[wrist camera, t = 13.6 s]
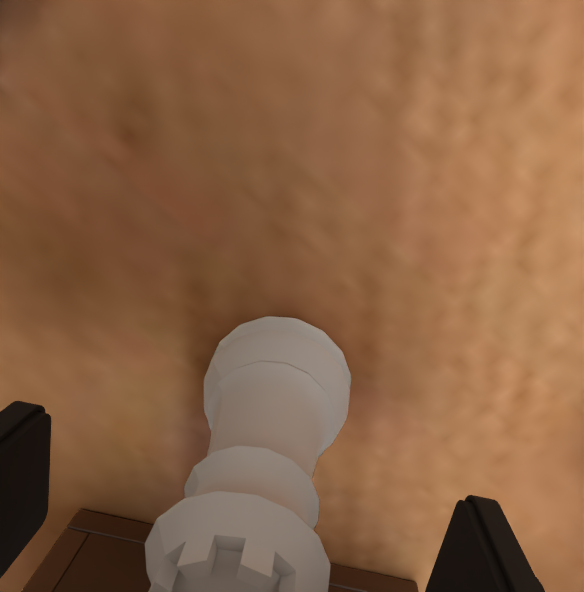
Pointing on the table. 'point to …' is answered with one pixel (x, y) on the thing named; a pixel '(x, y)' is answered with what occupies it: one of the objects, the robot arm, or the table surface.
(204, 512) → the rook chess piece
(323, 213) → the table surface
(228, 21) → the table surface
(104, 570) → the chest
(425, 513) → the table surface
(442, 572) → the robot arm
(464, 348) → the table surface
